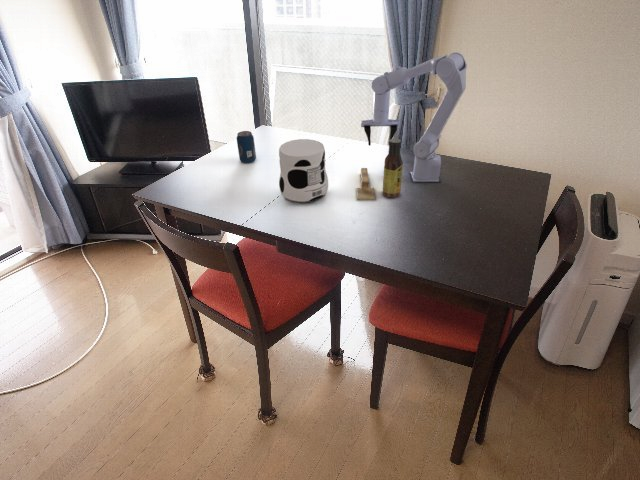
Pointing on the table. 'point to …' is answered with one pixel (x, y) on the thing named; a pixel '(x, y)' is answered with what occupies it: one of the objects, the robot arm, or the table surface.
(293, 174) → the milk container
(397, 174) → the sauce bottle
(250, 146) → the soda can
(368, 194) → the tan upright bar
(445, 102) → the robot arm
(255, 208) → the table surface
